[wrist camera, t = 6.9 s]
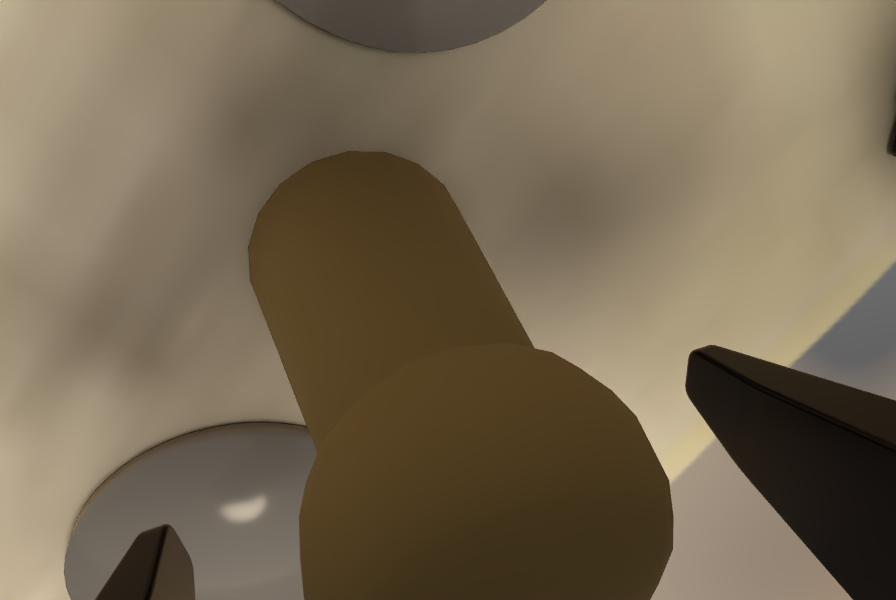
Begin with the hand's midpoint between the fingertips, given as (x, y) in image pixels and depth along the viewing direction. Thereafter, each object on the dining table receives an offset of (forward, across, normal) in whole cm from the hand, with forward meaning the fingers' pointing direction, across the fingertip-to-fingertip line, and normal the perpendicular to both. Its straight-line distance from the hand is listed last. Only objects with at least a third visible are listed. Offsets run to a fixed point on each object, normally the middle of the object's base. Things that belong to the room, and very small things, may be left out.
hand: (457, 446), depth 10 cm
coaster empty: (+8, +6, +9) cm, 13 cm away
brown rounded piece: (+8, 0, 0) cm, 8 cm away
